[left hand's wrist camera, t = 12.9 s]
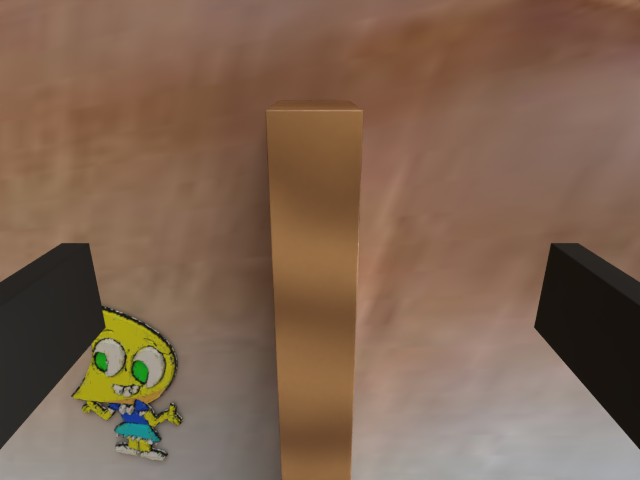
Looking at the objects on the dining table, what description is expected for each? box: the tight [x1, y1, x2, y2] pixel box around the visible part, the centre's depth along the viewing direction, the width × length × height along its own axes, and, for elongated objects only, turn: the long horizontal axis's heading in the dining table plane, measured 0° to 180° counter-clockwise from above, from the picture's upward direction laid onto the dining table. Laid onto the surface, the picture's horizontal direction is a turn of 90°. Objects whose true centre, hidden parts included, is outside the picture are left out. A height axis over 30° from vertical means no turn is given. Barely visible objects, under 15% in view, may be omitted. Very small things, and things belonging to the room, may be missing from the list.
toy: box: [71, 306, 183, 461], centre depth 38 cm, size 10×1×15 cm
